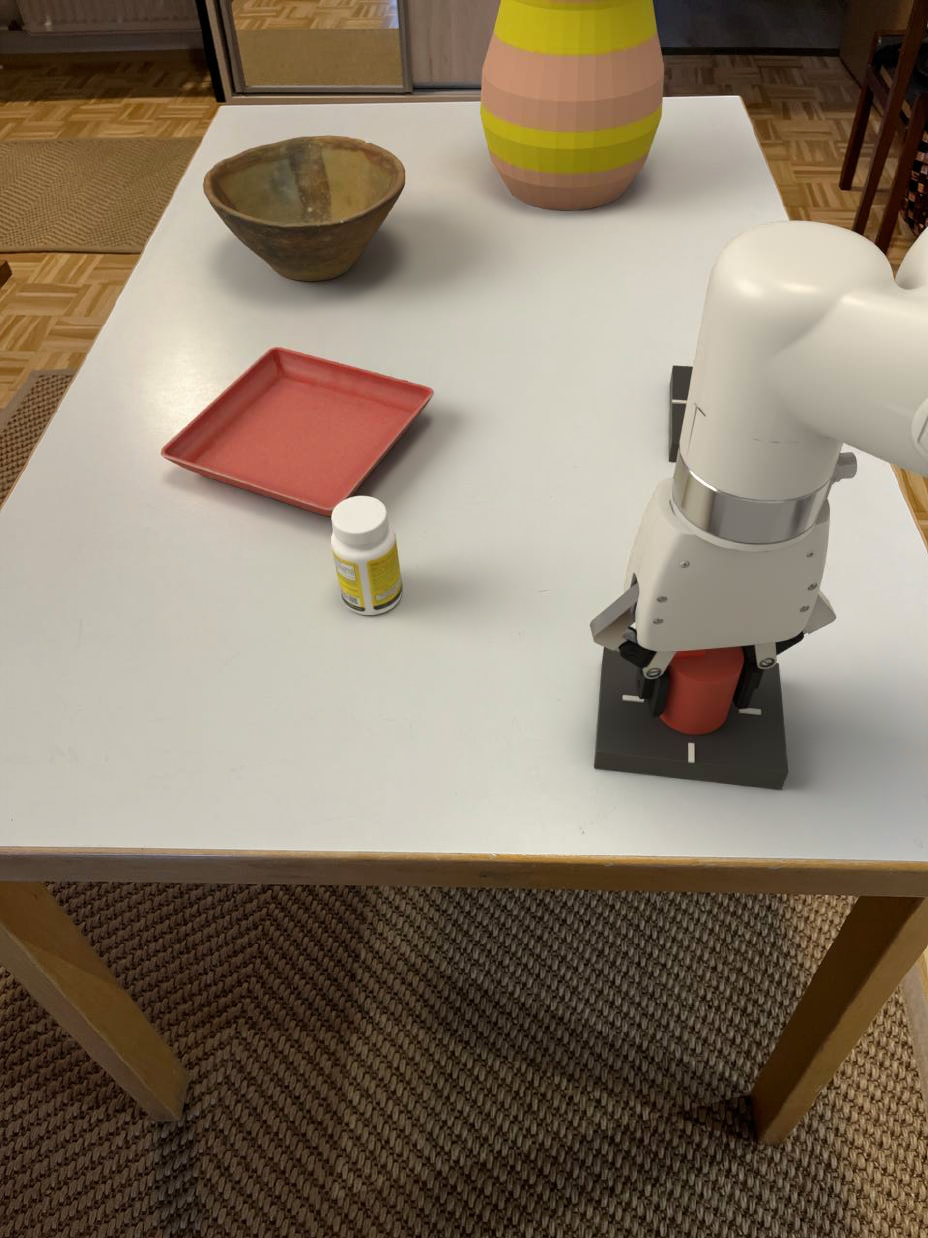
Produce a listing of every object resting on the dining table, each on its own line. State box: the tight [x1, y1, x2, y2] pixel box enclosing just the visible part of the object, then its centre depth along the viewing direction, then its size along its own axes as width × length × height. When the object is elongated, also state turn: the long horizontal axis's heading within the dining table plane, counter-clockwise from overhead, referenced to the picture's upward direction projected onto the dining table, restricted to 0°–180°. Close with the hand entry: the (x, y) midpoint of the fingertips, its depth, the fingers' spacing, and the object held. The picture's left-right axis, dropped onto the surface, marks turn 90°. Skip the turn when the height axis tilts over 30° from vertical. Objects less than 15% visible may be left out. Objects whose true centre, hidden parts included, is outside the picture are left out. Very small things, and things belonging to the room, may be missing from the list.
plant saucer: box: [160, 346, 435, 517], centre depth 83 cm, size 18×18×3 cm
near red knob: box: [660, 646, 744, 735], centre depth 59 cm, size 5×5×6 cm
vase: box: [479, 0, 665, 211], centre depth 107 cm, size 22×22×30 cm
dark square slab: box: [668, 365, 693, 463], centre depth 84 cm, size 12×9×2 cm
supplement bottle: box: [330, 495, 403, 616], centre depth 69 cm, size 5×5×8 cm
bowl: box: [202, 135, 406, 282], centre depth 103 cm, size 22×23×10 cm
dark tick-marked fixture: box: [593, 647, 789, 791], centre depth 62 cm, size 12×9×2 cm
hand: (693, 693), depth 60 cm, fingers closed on near red knob, 4 cm apart
